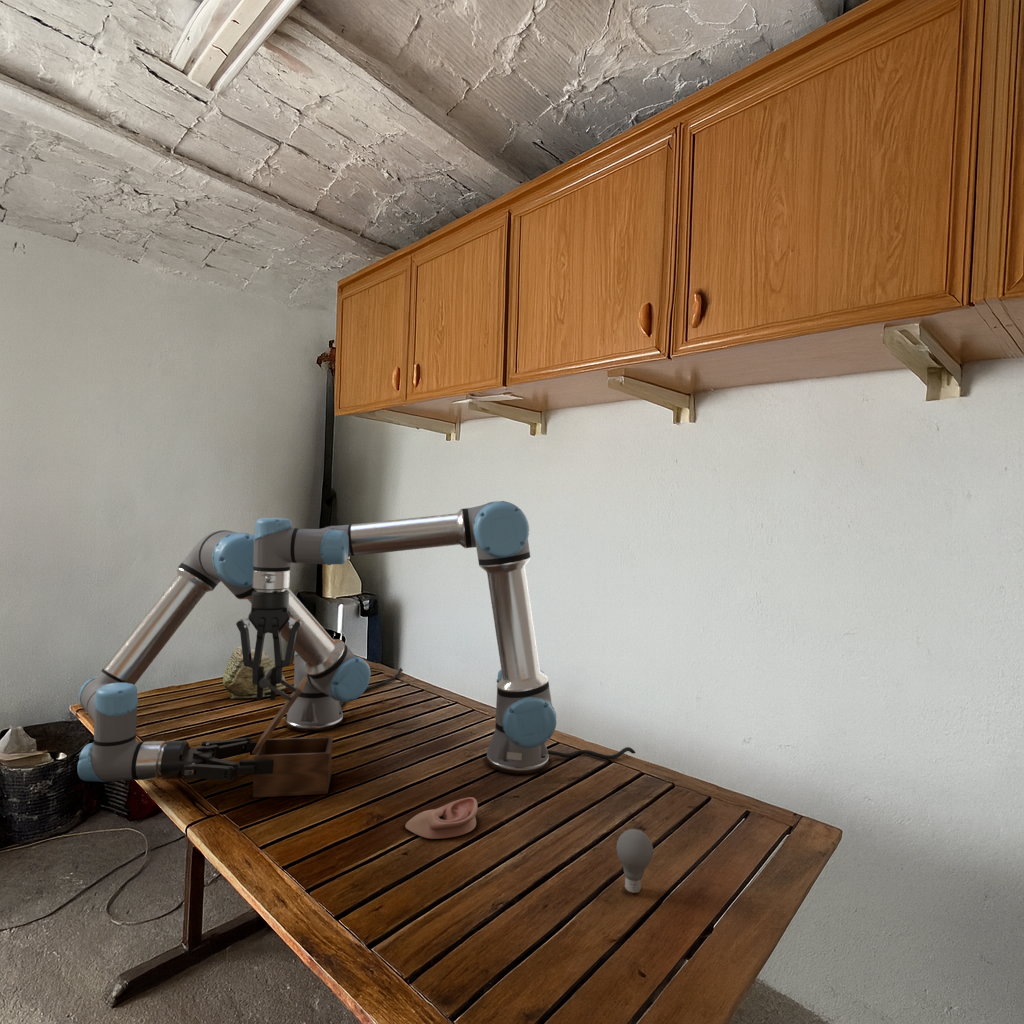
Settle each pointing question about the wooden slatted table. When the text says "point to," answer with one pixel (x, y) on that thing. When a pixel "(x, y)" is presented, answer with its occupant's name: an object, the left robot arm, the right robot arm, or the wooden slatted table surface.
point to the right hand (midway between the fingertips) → (266, 698)
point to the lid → (290, 700)
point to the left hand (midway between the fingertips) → (276, 756)
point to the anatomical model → (445, 820)
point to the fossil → (246, 676)
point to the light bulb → (634, 857)
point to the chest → (295, 767)
